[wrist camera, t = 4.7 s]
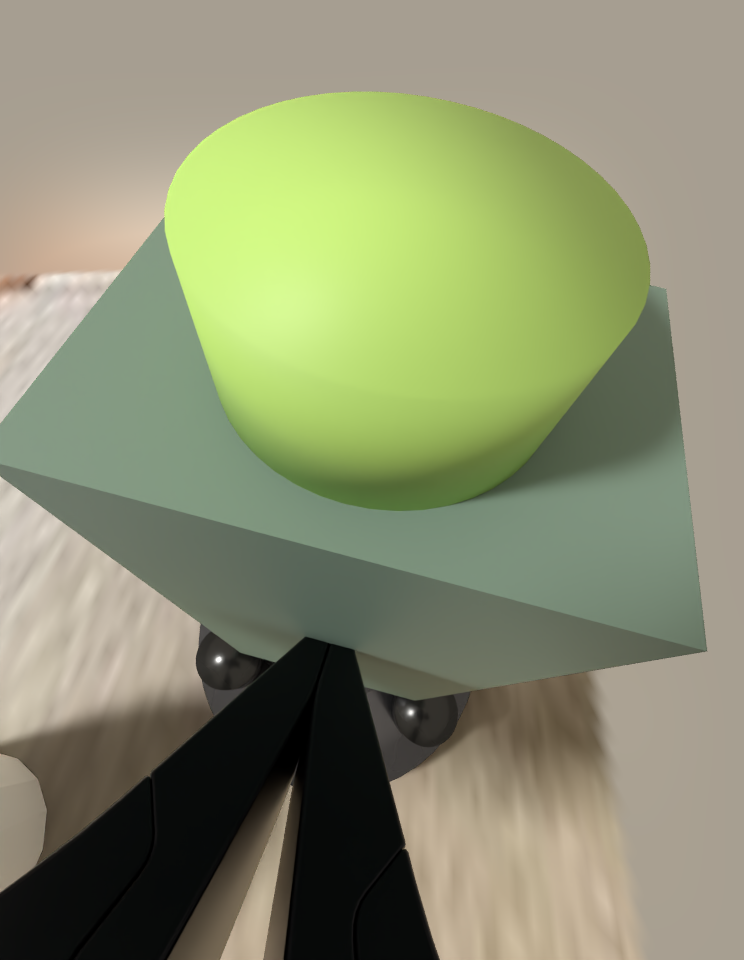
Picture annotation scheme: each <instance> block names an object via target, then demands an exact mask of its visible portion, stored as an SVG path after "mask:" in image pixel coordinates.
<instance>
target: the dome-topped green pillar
mask: <svg viewBox="0 0 744 960" xmlns="http://www.w3.org/2000/svg"><path fill="white" fill-rule="evenodd" d="M164 214H165V215H164V216H165V217H164V218H163V219H162V221H161V222H160V223H159V224H158V226H157V227H156V228H155V230H154V231H153V232H152V234H151V235H150V236H149V237H148V239H147V240H146V241H145V242H144V243H143V245H142V246H141V247H140V248H139V250H138V251H137V252H136V254H135V255H134V256H133V257H132V259H131V260H130V261H129V262H128V264H127V265H126V266H125V267H124V269H123V270H122V271H121V272H120V274H119V275H118V276H117V277H116V279H115V280H114V281H113V283H112V284H111V285H110V286H109V288H108V289H107V290H106V291H105V293H104V294H103V295H102V296H101V298H100V299H99V300H98V301H97V303H96V304H95V305H94V306H93V308H92V309H91V310H90V312H89V313H88V314H87V315H86V317H85V318H84V319H83V320H82V322H81V323H80V324H79V325H78V327H77V328H76V329H75V330H74V332H73V333H72V334H71V335H70V337H69V338H68V339H67V341H66V342H65V343H64V344H63V346H62V347H61V348H60V349H59V351H58V352H57V353H56V354H55V356H54V357H53V358H52V359H51V361H50V362H49V363H48V364H47V366H46V367H45V368H44V370H43V371H42V372H41V373H40V375H39V376H38V377H37V378H36V380H35V381H34V382H33V383H32V385H31V386H30V387H29V388H28V390H27V391H26V392H25V394H24V395H23V396H22V397H21V399H20V400H19V401H18V402H17V404H16V405H15V406H14V407H13V409H12V410H11V411H10V412H9V414H8V415H7V416H6V417H5V419H4V420H3V421H2V423H1V424H0V476H1V477H2V478H3V479H5V480H6V481H7V482H9V483H10V484H12V485H13V486H14V487H16V488H17V489H18V490H20V491H21V492H22V493H24V494H25V495H27V496H28V497H29V498H31V499H32V500H33V501H35V502H36V503H37V504H39V505H40V506H42V507H43V508H44V509H46V510H47V511H48V512H50V513H51V514H52V515H54V516H55V517H57V518H58V519H59V520H61V521H62V522H63V523H65V524H66V525H67V526H69V527H70V528H71V529H73V530H74V531H76V532H77V533H78V534H80V535H81V536H82V537H84V538H85V539H86V540H88V541H89V542H91V543H92V544H93V545H95V546H96V547H97V548H99V549H100V550H101V551H103V552H104V553H106V554H107V555H108V556H110V557H111V558H112V559H114V560H115V561H116V562H118V563H119V564H121V565H122V566H123V567H125V568H126V569H127V570H129V571H130V572H131V573H133V574H134V575H135V576H137V577H138V578H140V579H141V580H142V581H144V582H145V583H146V584H148V585H149V586H150V587H152V588H153V589H155V590H156V591H157V592H159V593H160V594H161V595H163V596H164V597H165V598H167V599H168V600H170V601H171V602H172V603H174V604H175V605H176V606H178V607H179V608H180V609H182V610H183V611H185V612H186V613H187V614H189V615H190V616H191V617H193V618H194V619H195V620H197V621H198V622H200V623H201V624H202V625H204V626H205V627H206V628H208V629H209V630H210V631H212V632H213V633H214V634H216V635H217V636H219V637H220V638H221V639H223V640H224V641H225V642H227V643H228V644H229V645H231V646H232V647H234V648H235V649H236V650H238V651H239V652H240V653H243V654H247V655H251V656H254V657H258V658H261V659H265V660H269V661H272V662H276V661H278V660H279V659H280V658H281V657H282V656H283V655H284V654H286V653H287V652H288V651H289V650H290V649H291V648H292V647H293V646H295V645H296V644H297V643H298V642H299V641H300V640H301V639H303V638H304V637H309V638H313V639H317V640H320V641H324V642H327V643H329V645H330V644H335V645H339V646H343V647H346V648H350V649H353V650H355V653H356V657H357V660H358V664H359V668H360V672H361V676H362V679H363V683H364V687H367V688H371V689H374V690H378V691H382V692H385V693H389V694H393V695H396V696H400V697H403V698H407V699H411V700H414V701H416V700H422V699H428V698H434V697H440V696H446V695H452V694H458V693H463V692H469V691H475V690H481V689H487V688H493V687H499V686H505V685H511V684H517V683H522V682H528V681H534V680H540V679H546V678H552V677H558V676H564V675H570V674H576V673H581V672H587V671H593V670H599V669H605V668H611V667H616V666H622V665H629V664H635V663H640V662H646V661H652V660H658V659H663V658H669V657H675V656H682V655H687V654H694V653H699V652H705V651H707V647H706V638H705V629H704V620H703V611H702V603H701V594H700V586H699V576H698V568H697V559H696V550H695V541H694V532H693V523H692V515H691V505H690V496H689V487H688V479H687V470H686V461H685V453H684V443H683V434H682V426H681V417H680V408H679V399H678V390H677V381H676V372H675V363H674V355H673V347H672V337H671V329H670V319H669V310H668V302H667V293H666V289H664V288H659V287H655V286H651V285H650V261H649V256H648V251H647V245H646V243H645V240H644V238H643V235H642V232H641V230H640V227H639V225H638V224H637V222H636V220H635V218H634V216H633V215H632V213H631V211H630V210H629V208H628V206H627V205H626V204H625V203H624V201H623V200H622V199H621V198H620V196H619V195H618V193H617V192H616V191H615V190H614V189H613V188H612V187H611V186H610V185H609V184H608V183H607V182H606V181H605V180H604V179H603V178H602V177H601V176H600V175H599V174H598V173H597V172H596V171H595V170H593V169H592V168H591V167H590V166H589V165H587V164H586V163H585V162H584V161H583V160H581V159H580V158H578V157H577V156H575V155H574V154H573V153H571V152H570V151H568V150H567V149H565V148H564V147H562V146H561V145H559V144H557V143H556V142H554V141H552V140H550V139H549V138H547V137H545V136H544V135H541V134H539V133H537V132H535V131H533V130H531V129H529V128H527V127H525V126H523V125H521V124H518V123H516V122H513V121H511V120H508V119H506V118H504V117H501V116H498V115H495V114H493V113H489V112H487V111H483V110H481V109H477V108H474V107H470V106H467V105H463V104H459V103H455V102H451V101H446V100H441V99H436V98H430V97H425V96H418V95H410V94H402V93H388V92H387V93H386V92H342V93H328V94H321V95H313V96H306V97H300V98H296V99H292V100H287V101H282V102H279V103H276V104H272V105H270V106H266V107H263V108H260V109H257V110H255V111H252V112H250V113H248V114H245V115H243V116H241V117H238V118H237V119H235V120H233V121H231V122H229V123H228V124H226V125H224V126H222V127H221V128H219V129H218V130H216V131H215V132H214V133H212V134H211V135H210V136H208V137H207V138H206V139H204V140H203V141H202V142H201V143H200V144H199V145H198V146H197V147H196V148H195V149H194V150H193V151H192V152H191V153H190V154H189V155H188V156H187V157H186V159H185V160H184V162H183V163H182V165H181V166H180V167H179V169H178V170H177V172H176V174H175V176H174V178H173V181H172V183H171V185H170V188H169V190H168V195H167V200H166V205H165V210H164Z"/></svg>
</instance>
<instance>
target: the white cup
mask: <svg viewBox="0 0 744 960" xmlns="http://www.w3.org/2000/svg"><path fill="white" fill-rule="evenodd" d="M46 815H47V809H46V805H45V802H44V798H43V795H42V791H41V788H40V784H39V781H38V779H37V778H36V777H35V776H34V775H33V773H32V772H31V771H30V770H29V769H28V768H27V767H26V766H25V765H24V764H23V763H22V762H21V761H20V760H19V759H18V758H14V757H11V756H7V755H3V754H0V892H1V891H2V890H4V889H5V888H6V887H8V886H9V885H10V884H12V883H13V882H14V881H16V880H17V879H19V878H20V877H21V876H23V875H24V874H25V873H27V872H28V871H29V870H31V869H32V868H33V867H35V866H36V864H37V861H38V859H39V857H40V854H41V852H42V850H43V843H44V834H45V824H46Z"/></svg>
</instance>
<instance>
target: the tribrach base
mask: <svg viewBox="0 0 744 960" xmlns="http://www.w3.org/2000/svg"><path fill="white" fill-rule="evenodd" d="M274 663H275V662H272V661H269V660H265V659H261V658H258V657H254V656H251V655H247V654H243V653H240V652H239V651H238V650H236V649H235V648H234V647H232V646H231V645H229V644H228V643H227V642H225V641H224V640H223V639H221V638H220V637H219V636H217V635H216V634H214V633H213V632H212V631H210V630H209V629H208V628H206V627H205V626H204V625H202V624H201V626H200V635H199V648H198V651H197V655H196V667H197V671H198V674H199V676H200V678H201V679H202V683H203V688H204V691H205V694H206V697H207V700H208V703H209V706H210V708H211V710H212V712H213V714H214V716H215V715H216V714H217V713H218V712H219V711H221V710H222V709H223V708H224V707H225V706H226V705H227V704H229V703H230V702H231V701H232V700H233V699H234V698H235V697H236V696H238V695H239V694H240V693H241V692H242V691H243V690H244V689H246V688H247V687H248V686H249V685H250V684H251V683H252V682H254V681H255V680H256V679H257V678H258V677H259V676H260V675H262V674H263V673H264V672H265V671H266V670H267V669H268V668H270V667H271V666H272V665H273V664H274ZM365 691H366V695H367V698H368V702H369V706H370V710H371V714H372V717H373V721H374V725H375V729H376V733H377V736H378V740H379V744H380V748H381V752H382V755H383V759H384V763H385V767H386V771H387V774H388V778H389V782H390V781H392V780H395V779H397V778H399V777H401V776H403V775H404V774H406V773H407V772H409V771H410V770H412V769H414V768H415V767H417V766H418V765H419V764H421V763H422V762H423V761H424V760H425V759H426V758H427V757H429V756H430V755H431V754H432V753H433V752H434V751H435V750H436V749H437V748H438V747H439V745H440V744H442V743H444V742H445V741H446V740H447V739H448V738H449V737H450V736H451V735H452V733H453V732H454V730H455V727H456V724H457V721H458V720H459V718H460V715H461V713H462V711H463V709H464V707H465V705H466V703H467V701H468V698H469V695H470V692H471V691H469V692H463V693H458V694H452V695H446V696H440V697H434V698H428V699H422V700H416V701H414V700H411V699H407V698H403V697H400V696H396V695H393V694H389V693H385V692H382V691H378V690H374V689H371V688H367V687H365ZM297 764H298V763H297ZM296 769H297V767H296ZM295 773H296V770H295ZM295 773H294V776H293V779H292V782H291V784H290V785H292V786H293V782H294V777H295Z"/></svg>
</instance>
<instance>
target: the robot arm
mask: <svg viewBox="0 0 744 960" xmlns="http://www.w3.org/2000/svg"><path fill="white" fill-rule="evenodd" d="M297 763H298V764H297ZM296 767H297V769H296ZM295 770H296V773H295ZM294 773H295V777H294V782H293V787H292V792H291V798H290V804H289V810H288V816H287V822H286V828H285V834H284V840H283V846H282V852H281V858H280V864H279V870H278V876H277V882H276V888H275V894H274V899H273V905H272V911H271V917H270V923H269V929H268V935H267V941H266V947H265V953H264V959H263V960H440V959H439V956H438V953H437V950H436V947H435V944H434V941H433V938H432V935H431V932H430V928H429V925H428V921H427V918H426V915H425V911H424V908H423V904H422V901H421V897H420V894H419V891H418V887H417V884H416V880H415V876H414V872H413V869H412V865H411V861H410V857H409V853H408V851H407V850H406V849H404V848H405V845H406V843H405V839H404V835H403V832H402V828H401V824H400V820H399V816H398V813H397V809H396V805H395V801H394V797H393V794H392V790H391V786H390V782H389V778H388V774H387V771H386V767H385V763H384V759H383V755H382V752H381V748H380V744H379V740H378V736H377V733H376V729H375V725H374V721H373V717H372V714H371V710H370V706H369V702H368V698H367V695H366V691H365V687H364V683H363V679H362V676H361V672H360V668H359V664H358V660H357V657H356V653H355V650H353V649H350V648H346V647H343V646H339V645H335V644H330V645H329V643H327V642H324V641H320V640H317V639H313V638H309V637H304V638H303V639H301V640H300V641H299V642H298V643H297V644H296V645H295V646H293V647H292V648H291V649H290V650H289V651H288V652H287V653H286V654H284V655H283V656H282V657H281V658H280V659H279V660H278V661H276V662H275V663H274V664H273V665H272V666H271V667H270V668H268V669H267V670H266V671H265V672H264V673H263V674H262V675H260V676H259V677H258V678H257V679H256V680H255V681H254V682H252V683H251V684H250V685H249V686H248V687H247V688H246V689H244V690H243V691H242V692H241V693H240V694H239V695H238V696H236V697H235V698H234V699H233V700H232V701H231V702H230V703H229V704H227V705H226V706H225V707H224V708H223V709H222V710H221V711H219V712H218V713H217V714H216V715H215V716H214V717H213V718H211V719H210V720H209V721H208V722H207V723H206V724H205V725H203V726H202V727H201V728H200V729H199V730H198V731H197V732H195V733H194V734H193V735H192V736H191V737H190V738H189V739H187V740H186V741H185V742H184V743H183V744H182V745H181V746H179V747H178V748H177V749H176V750H175V751H174V752H173V753H171V754H170V755H169V756H168V757H167V758H166V759H165V760H164V761H162V762H161V763H160V764H159V765H158V766H157V767H156V768H154V769H153V770H152V771H151V773H150V777H149V776H145V777H144V778H143V779H141V780H140V781H139V782H138V783H137V784H136V785H135V786H133V787H132V788H131V789H130V790H129V791H128V792H127V793H126V794H124V795H123V796H122V797H121V798H120V799H119V800H117V801H116V802H115V803H114V804H113V805H111V806H110V807H109V808H108V809H107V810H105V811H104V812H103V813H102V814H101V815H99V816H98V817H97V818H96V819H95V820H94V821H92V822H91V823H90V824H89V825H88V826H86V827H85V828H84V829H83V830H82V831H80V832H79V833H78V834H77V835H75V836H74V837H73V838H71V839H70V840H69V841H67V842H66V843H65V844H63V845H62V846H61V847H60V848H58V849H57V850H56V851H54V852H53V853H52V854H50V855H49V856H48V857H46V858H45V859H44V860H42V861H41V862H40V863H39V864H37V865H36V866H35V867H33V868H32V869H31V870H29V871H28V872H27V873H25V874H24V875H23V876H21V877H20V878H19V879H17V880H16V881H14V882H13V883H12V884H10V885H9V886H8V887H6V888H5V889H4V890H2V891H1V892H0V960H220V958H221V955H222V953H223V951H224V948H225V946H226V943H227V941H228V938H229V936H230V933H231V931H232V928H233V926H234V923H235V921H236V918H237V916H238V913H239V911H240V909H241V906H242V904H243V901H244V899H245V896H246V894H247V891H248V889H249V886H250V884H251V881H252V879H253V876H254V874H255V871H256V869H257V867H258V864H259V862H260V859H261V857H262V854H263V852H264V849H265V847H266V844H267V842H268V839H269V837H270V834H271V832H272V829H273V827H274V825H275V822H276V820H277V817H278V815H279V812H280V810H281V807H282V805H283V802H284V800H285V797H286V795H287V792H288V790H289V787H290V784H291V782H292V779H293V776H294Z"/></svg>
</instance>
